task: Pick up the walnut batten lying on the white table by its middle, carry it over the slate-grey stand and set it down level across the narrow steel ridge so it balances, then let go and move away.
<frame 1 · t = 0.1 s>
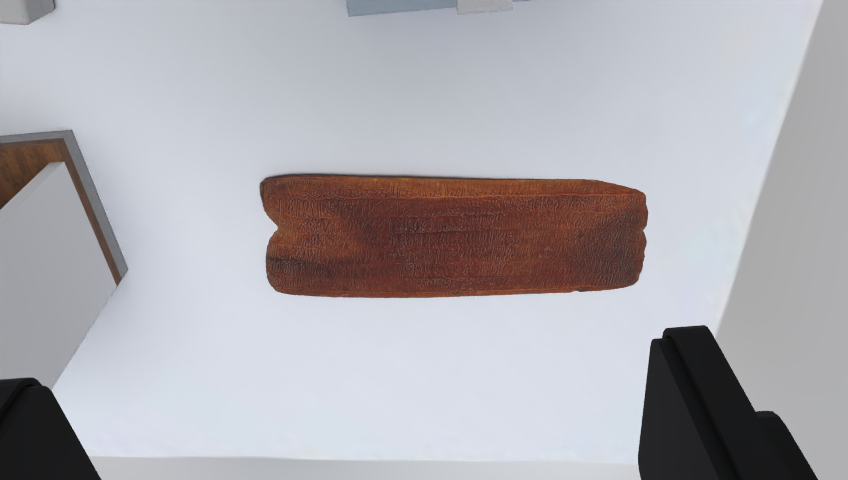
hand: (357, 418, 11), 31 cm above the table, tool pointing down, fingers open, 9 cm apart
tall square planter: (20, 209, 45), on the table
wooden tablet: (456, 234, 47), on the table
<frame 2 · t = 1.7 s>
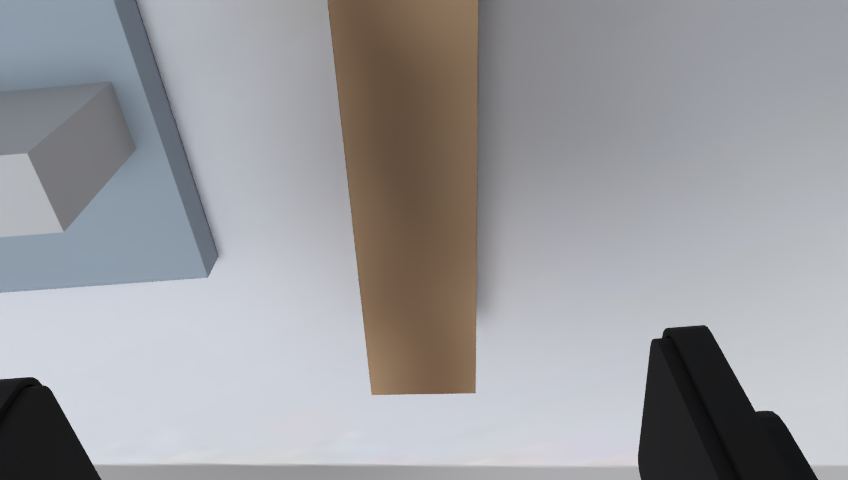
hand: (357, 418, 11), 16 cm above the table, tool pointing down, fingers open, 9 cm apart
ridge stand: (9, 112, 25), on the table
walnut batten: (414, 72, 24), on the table
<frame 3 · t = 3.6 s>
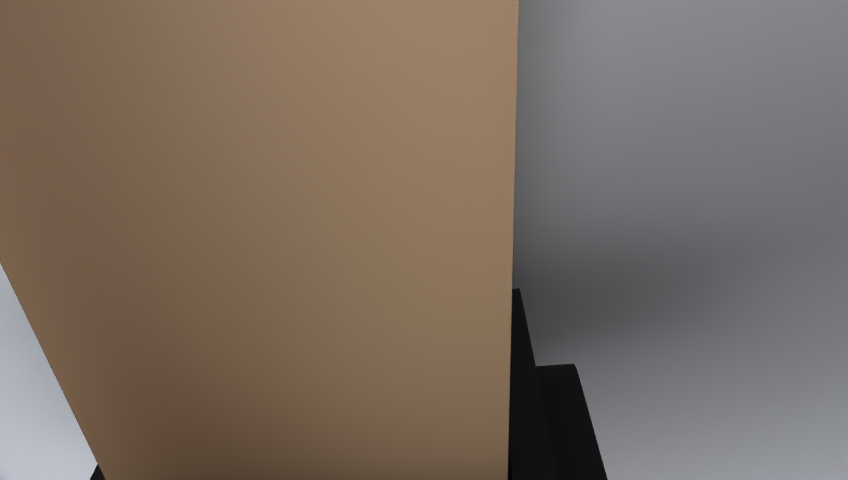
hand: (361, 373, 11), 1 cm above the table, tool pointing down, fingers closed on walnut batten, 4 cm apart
walnut batten: (366, 336, 12), on the table, touching gripper
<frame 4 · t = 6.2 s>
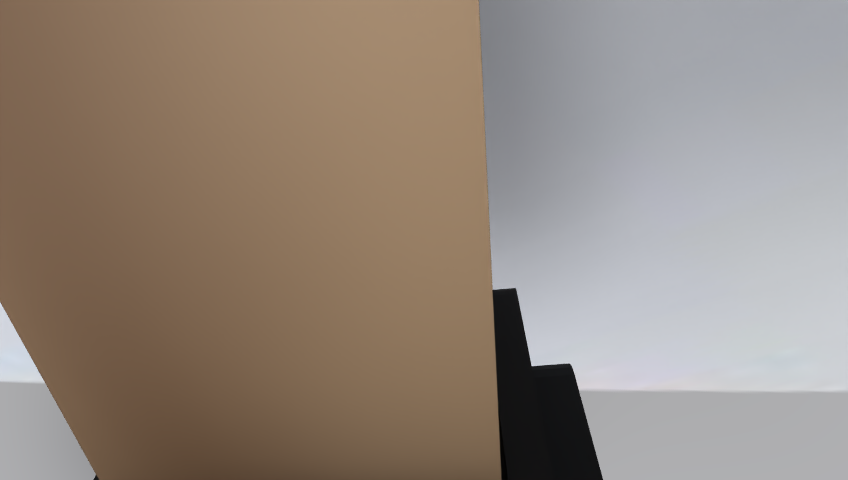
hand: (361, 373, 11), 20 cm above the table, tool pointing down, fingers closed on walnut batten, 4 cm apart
walnut batten: (368, 339, 12), point 19 cm above the table, touching gripper
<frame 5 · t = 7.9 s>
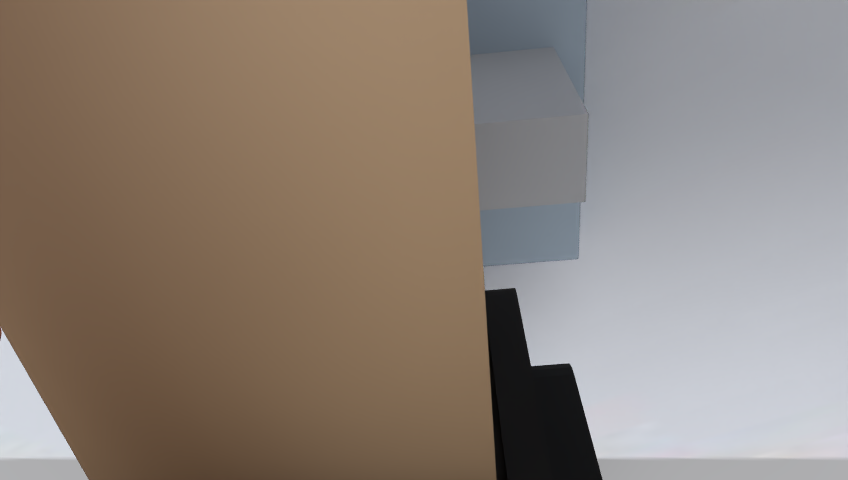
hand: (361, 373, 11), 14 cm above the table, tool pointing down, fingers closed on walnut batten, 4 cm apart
ridge stand: (402, 83, 23), on the table
walnut batten: (366, 342, 12), point 13 cm above the table, touching gripper
when the fingers open (9 cm above the table, at t = 9.1 s): walnut batten stays where it is, resting on ridge stand.
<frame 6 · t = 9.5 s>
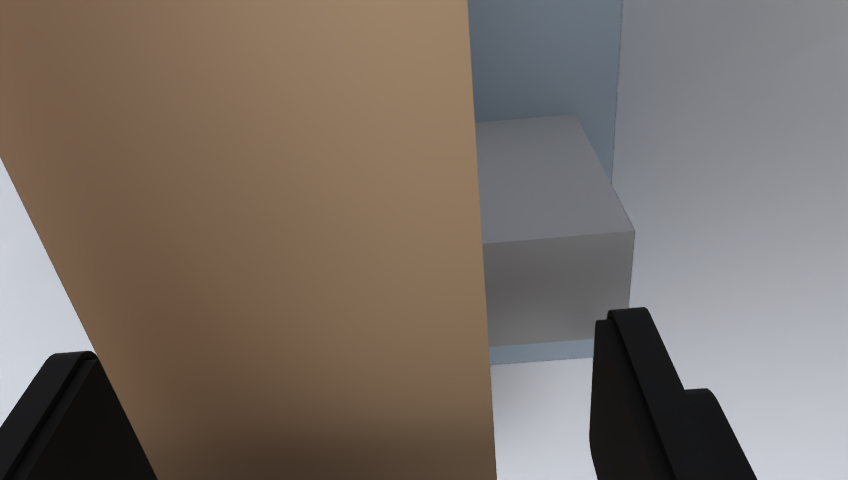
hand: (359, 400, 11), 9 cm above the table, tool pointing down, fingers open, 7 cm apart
ridge stand: (385, 151, 19), on the table
walnut batten: (371, 312, 13), point 7 cm above the table, touching ridge stand
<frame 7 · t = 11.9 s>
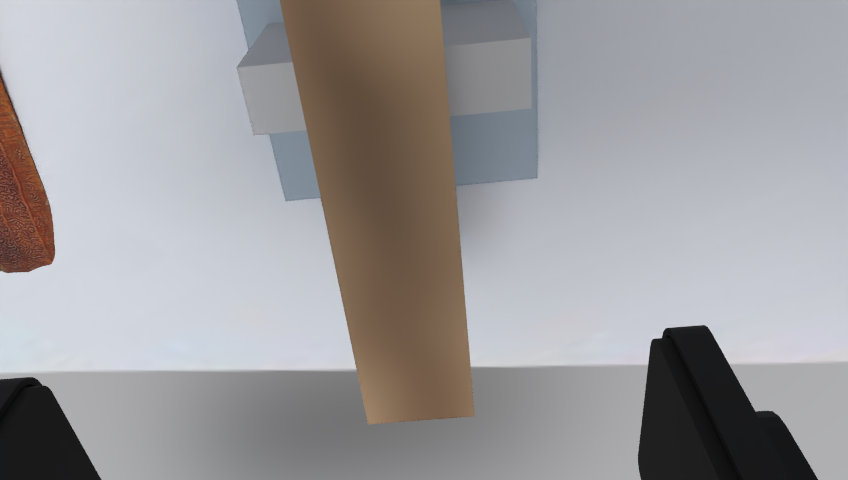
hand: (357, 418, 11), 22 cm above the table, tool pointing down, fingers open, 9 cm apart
ridge stand: (393, 32, 29), on the table
walnut batten: (388, 91, 23), point 7 cm above the table, touching ridge stand
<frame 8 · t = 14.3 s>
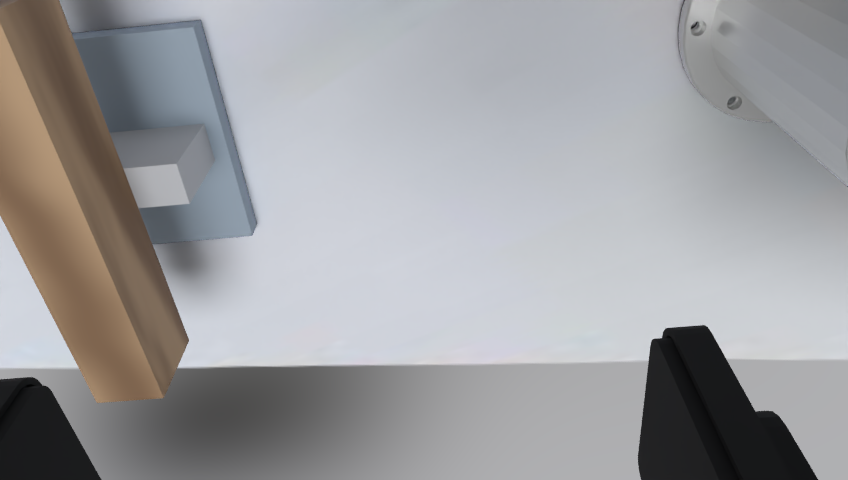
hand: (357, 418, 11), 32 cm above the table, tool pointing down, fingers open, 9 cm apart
ridge stand: (139, 139, 43), on the table
walnut batten: (96, 194, 37), point 7 cm above the table, touching ridge stand
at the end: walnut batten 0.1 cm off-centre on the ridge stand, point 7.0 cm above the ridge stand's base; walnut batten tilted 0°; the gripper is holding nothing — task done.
